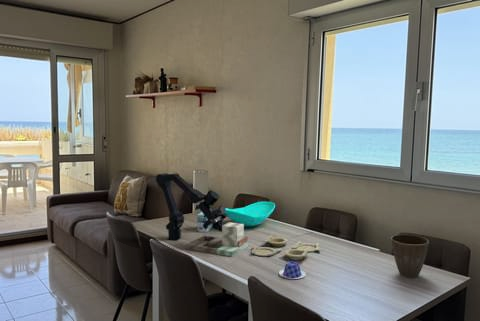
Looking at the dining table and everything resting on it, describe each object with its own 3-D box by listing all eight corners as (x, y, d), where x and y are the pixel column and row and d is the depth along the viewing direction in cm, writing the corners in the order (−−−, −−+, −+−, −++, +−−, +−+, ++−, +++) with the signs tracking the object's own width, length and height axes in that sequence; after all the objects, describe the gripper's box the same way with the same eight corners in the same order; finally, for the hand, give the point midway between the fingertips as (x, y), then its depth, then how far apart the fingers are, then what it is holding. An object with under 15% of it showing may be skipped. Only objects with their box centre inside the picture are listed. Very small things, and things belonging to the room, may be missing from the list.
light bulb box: (207, 232, 235) (207, 215, 234) (197, 231, 237) (196, 214, 236) (212, 227, 246) (212, 211, 245) (202, 227, 247) (202, 211, 246)
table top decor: (259, 217, 274) (259, 199, 273) (284, 225, 251) (285, 205, 250) (212, 225, 252) (211, 205, 250) (235, 235, 229) (235, 213, 228)
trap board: (186, 248, 203) (185, 238, 203) (204, 239, 220) (204, 230, 220) (232, 256, 191) (232, 245, 190) (248, 245, 208) (248, 236, 207)
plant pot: (409, 284, 156) (410, 246, 154) (382, 271, 169) (383, 236, 168) (435, 278, 162) (436, 241, 160) (407, 266, 175) (408, 233, 174)
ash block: (222, 243, 203) (222, 225, 202) (229, 239, 210) (229, 222, 210) (237, 246, 199) (237, 227, 198) (243, 241, 207) (243, 224, 206)
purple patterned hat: (286, 268, 176) (286, 257, 175) (310, 273, 169) (310, 262, 168) (273, 276, 166) (273, 264, 165) (298, 282, 159) (298, 270, 158)
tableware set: (325, 247, 206) (325, 240, 205) (312, 265, 179) (312, 257, 179) (265, 239, 220) (265, 233, 220) (244, 255, 194) (244, 247, 193)
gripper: (207, 204, 199) (226, 227, 195) (224, 198, 216) (242, 219, 212) (195, 217, 203) (213, 240, 199) (212, 210, 220) (229, 231, 216)
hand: (225, 232), depth 207 cm, fingers closed, pressing on ash block
